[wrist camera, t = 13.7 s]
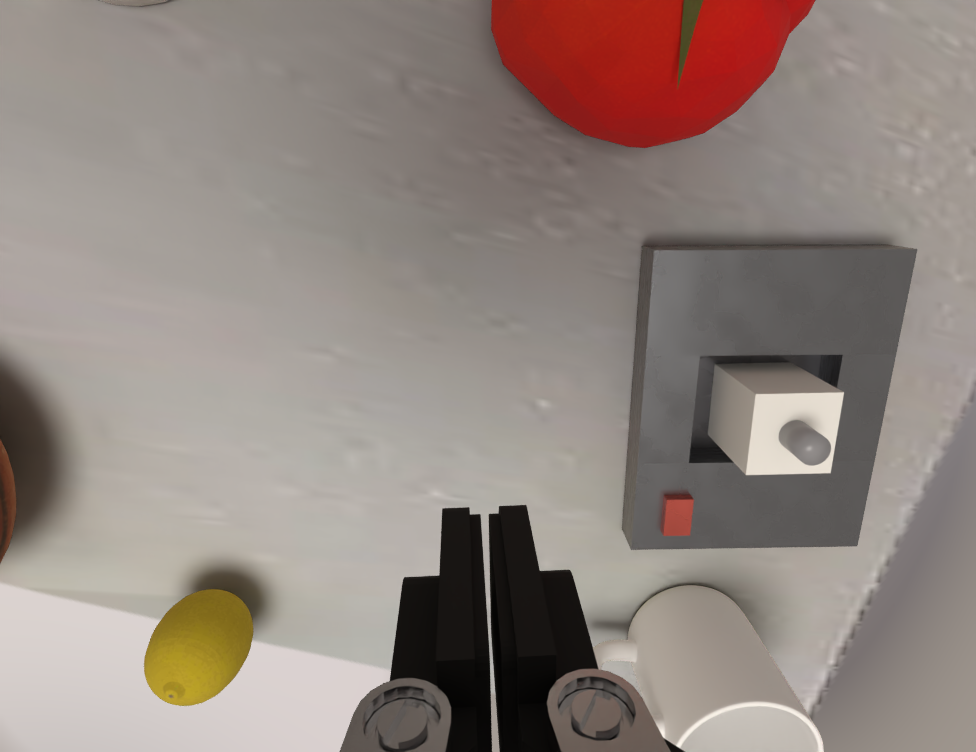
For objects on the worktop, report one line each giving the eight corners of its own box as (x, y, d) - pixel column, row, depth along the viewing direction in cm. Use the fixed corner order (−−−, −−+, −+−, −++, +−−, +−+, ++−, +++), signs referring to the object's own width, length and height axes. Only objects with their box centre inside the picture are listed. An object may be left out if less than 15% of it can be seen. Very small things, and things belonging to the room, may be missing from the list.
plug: (714, 363, 36) (774, 407, 29) (790, 362, 36) (868, 405, 29) (707, 434, 38) (762, 493, 30) (780, 432, 38) (852, 491, 30)
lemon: (169, 607, 41) (99, 705, 33) (211, 549, 40) (149, 636, 32) (241, 648, 42) (190, 751, 34) (285, 593, 41) (242, 687, 33)
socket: (642, 246, 34) (657, 251, 32) (888, 244, 35) (925, 250, 32) (621, 528, 40) (633, 555, 37) (835, 525, 40) (863, 551, 37)
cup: (728, 685, 44) (800, 826, 34) (562, 671, 43) (588, 812, 33) (757, 586, 41) (844, 709, 32) (582, 570, 41) (616, 691, 31)
